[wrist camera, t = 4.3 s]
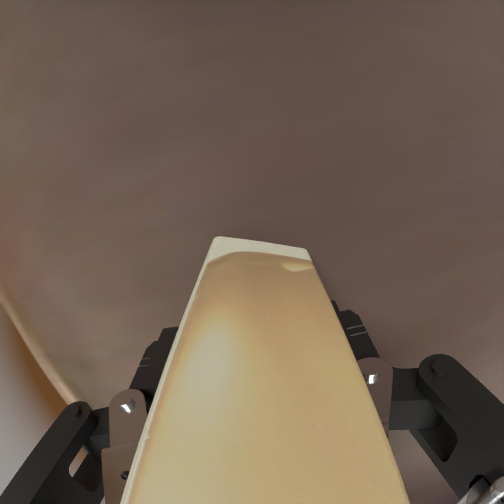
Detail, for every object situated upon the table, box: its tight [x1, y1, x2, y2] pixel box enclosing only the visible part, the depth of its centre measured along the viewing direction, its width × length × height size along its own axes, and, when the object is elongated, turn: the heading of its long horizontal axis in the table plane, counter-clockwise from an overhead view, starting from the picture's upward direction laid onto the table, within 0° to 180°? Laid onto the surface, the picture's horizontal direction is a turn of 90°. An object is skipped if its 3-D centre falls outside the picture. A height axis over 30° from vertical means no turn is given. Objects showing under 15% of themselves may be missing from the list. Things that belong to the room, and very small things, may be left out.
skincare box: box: [120, 236, 410, 504], centre depth 9 cm, size 6×4×12 cm
